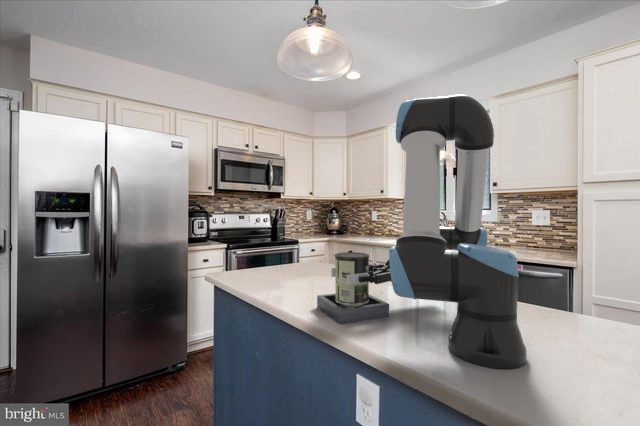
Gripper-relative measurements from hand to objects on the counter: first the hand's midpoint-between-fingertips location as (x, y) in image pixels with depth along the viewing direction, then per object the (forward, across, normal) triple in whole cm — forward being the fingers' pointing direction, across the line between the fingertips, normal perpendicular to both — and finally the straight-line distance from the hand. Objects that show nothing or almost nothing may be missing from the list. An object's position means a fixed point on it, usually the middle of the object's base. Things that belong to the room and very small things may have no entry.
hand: (339, 275), depth 96 cm
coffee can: (-4, 0, -8) cm, 9 cm away
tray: (-4, 0, -11) cm, 12 cm away
